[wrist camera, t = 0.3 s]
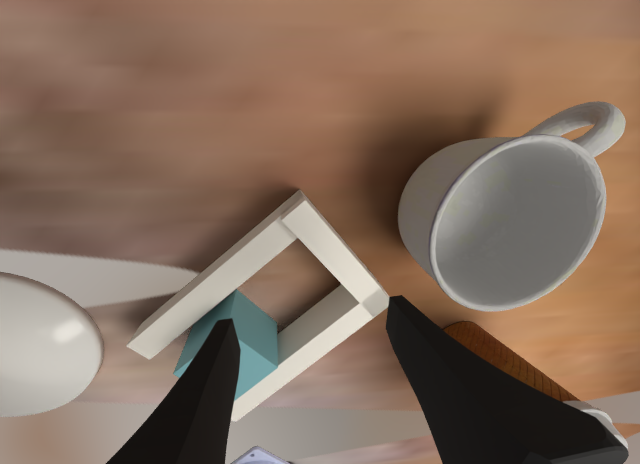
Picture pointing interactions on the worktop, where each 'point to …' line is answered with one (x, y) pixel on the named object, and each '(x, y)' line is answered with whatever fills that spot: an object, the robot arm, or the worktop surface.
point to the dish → (43, 347)
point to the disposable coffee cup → (521, 369)
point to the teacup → (510, 209)
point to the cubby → (305, 332)
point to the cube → (252, 335)
